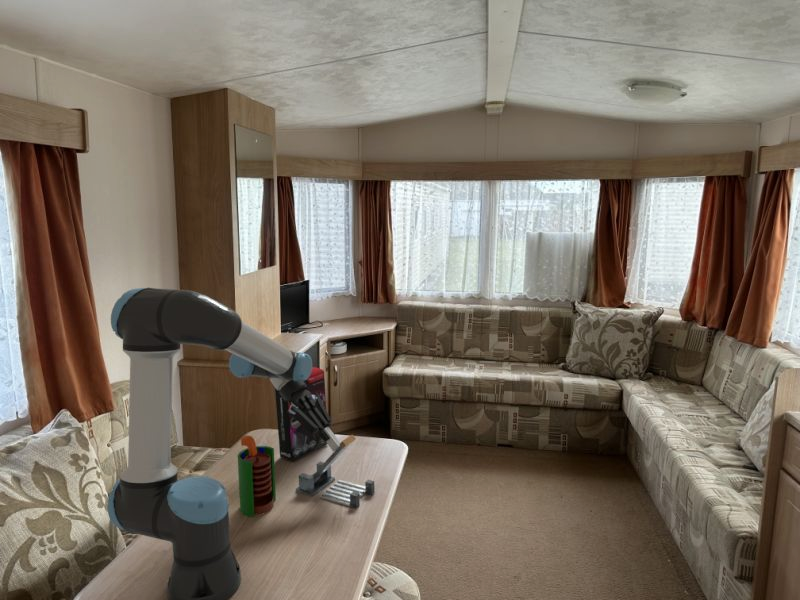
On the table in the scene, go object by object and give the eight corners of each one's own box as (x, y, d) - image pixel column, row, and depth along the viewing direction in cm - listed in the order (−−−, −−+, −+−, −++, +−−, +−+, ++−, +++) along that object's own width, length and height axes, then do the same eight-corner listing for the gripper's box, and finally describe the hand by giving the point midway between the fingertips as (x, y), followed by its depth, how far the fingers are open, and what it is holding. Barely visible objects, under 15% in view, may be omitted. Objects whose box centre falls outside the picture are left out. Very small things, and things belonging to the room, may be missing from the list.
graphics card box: (291, 463, 181) (287, 382, 176) (277, 457, 185) (273, 378, 180) (329, 445, 194) (326, 368, 189) (315, 440, 198) (311, 365, 194)
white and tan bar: (310, 487, 164) (346, 446, 155) (305, 480, 164) (341, 439, 155) (321, 479, 168) (357, 439, 159) (316, 473, 169) (351, 433, 160)
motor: (264, 518, 149) (260, 447, 146) (233, 515, 151) (228, 445, 148) (280, 499, 159) (276, 432, 156) (250, 496, 161) (246, 429, 157)
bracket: (354, 509, 153) (354, 492, 152) (295, 491, 163) (294, 475, 162) (375, 491, 162) (375, 475, 162) (318, 475, 172) (318, 460, 172)
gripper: (280, 382, 158) (331, 450, 153) (309, 370, 169) (357, 432, 164) (267, 397, 161) (316, 464, 156) (296, 384, 172) (343, 446, 167)
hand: (337, 448), depth 160 cm, fingers closed
